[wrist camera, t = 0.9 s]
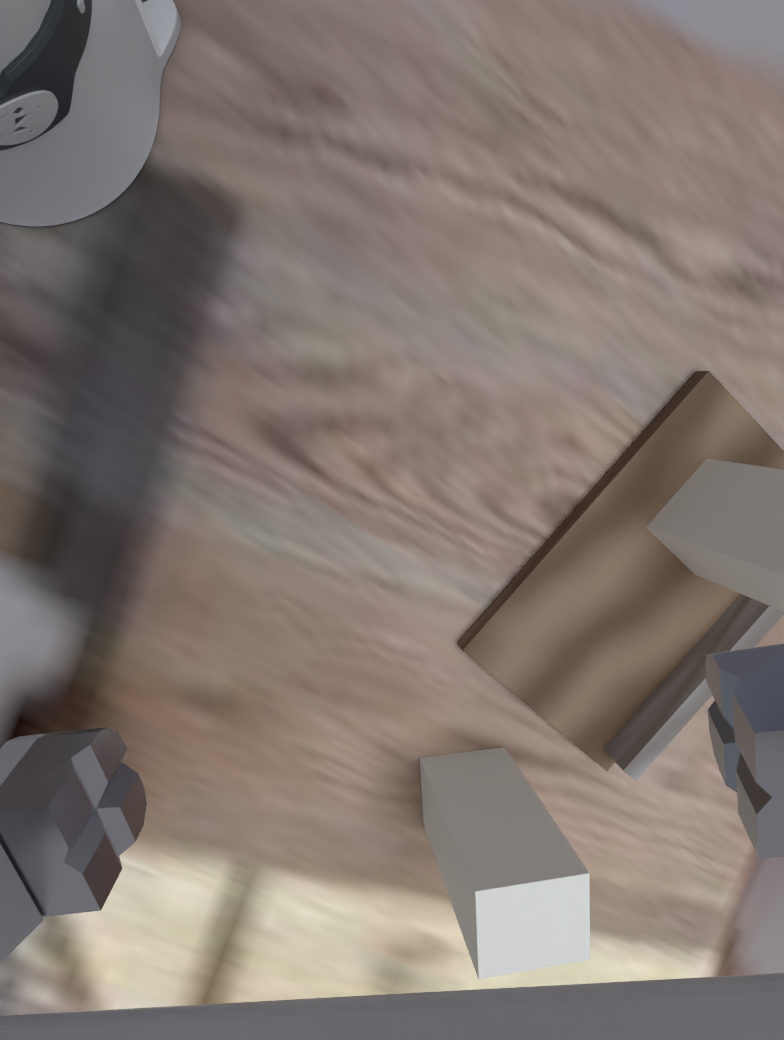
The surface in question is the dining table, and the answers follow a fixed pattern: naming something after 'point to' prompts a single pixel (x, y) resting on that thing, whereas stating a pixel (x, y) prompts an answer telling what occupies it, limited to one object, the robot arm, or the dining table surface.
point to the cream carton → (504, 864)
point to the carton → (729, 528)
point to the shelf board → (628, 595)
